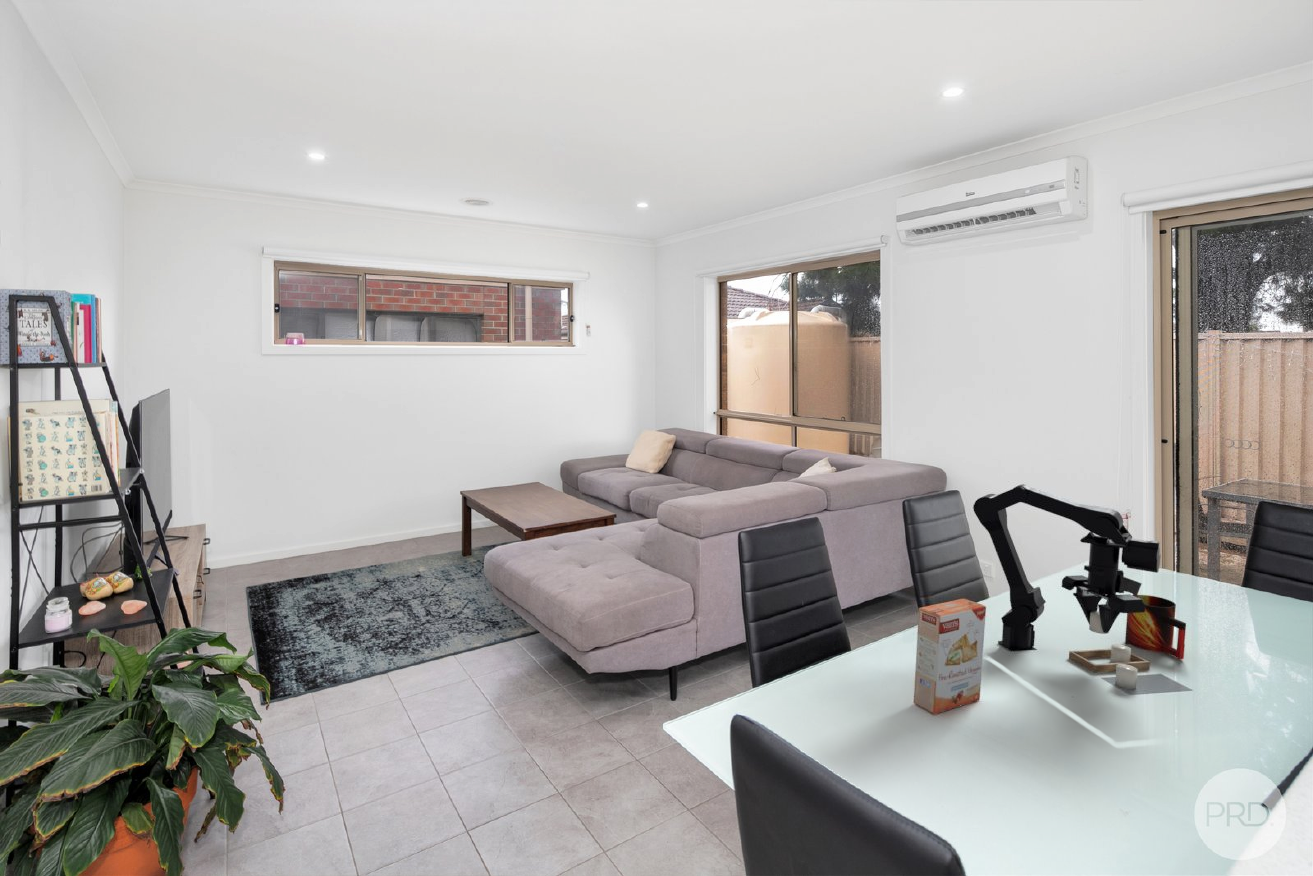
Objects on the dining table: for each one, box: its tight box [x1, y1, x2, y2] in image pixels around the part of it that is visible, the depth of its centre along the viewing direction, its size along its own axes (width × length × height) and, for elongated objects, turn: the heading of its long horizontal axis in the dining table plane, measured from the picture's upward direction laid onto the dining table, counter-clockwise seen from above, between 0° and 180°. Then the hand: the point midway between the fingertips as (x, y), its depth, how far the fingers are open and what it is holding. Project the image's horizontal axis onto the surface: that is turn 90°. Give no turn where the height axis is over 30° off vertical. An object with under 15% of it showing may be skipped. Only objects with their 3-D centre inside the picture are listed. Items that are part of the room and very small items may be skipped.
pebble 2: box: [1109, 643, 1132, 663], centre depth 160 cm, size 4×4×4 cm
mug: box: [1124, 594, 1187, 660], centre depth 169 cm, size 10×14×12 cm
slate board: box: [1101, 673, 1193, 696], centre depth 150 cm, size 15×8×1 cm, turn 98°
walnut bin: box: [1068, 648, 1151, 674], centre depth 160 cm, size 14×8×2 cm, turn 98°
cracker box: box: [913, 597, 987, 715], centre depth 142 cm, size 14×6×21 cm, turn 117°
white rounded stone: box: [1115, 664, 1139, 689], centre depth 149 cm, size 4×4×4 cm
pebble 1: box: [1088, 610, 1110, 635], centre depth 159 cm, size 4×4×4 cm
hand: (1098, 629), depth 159 cm, fingers closed on pebble 1, 4 cm apart
